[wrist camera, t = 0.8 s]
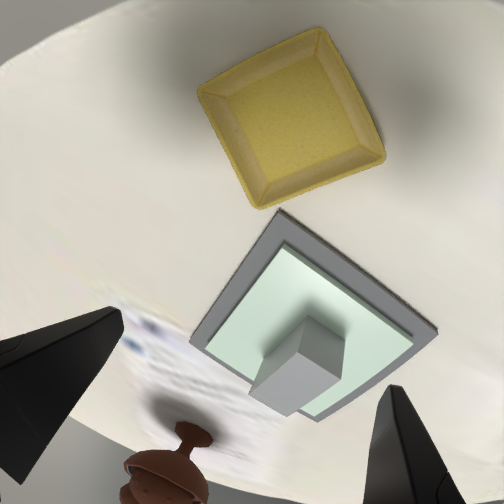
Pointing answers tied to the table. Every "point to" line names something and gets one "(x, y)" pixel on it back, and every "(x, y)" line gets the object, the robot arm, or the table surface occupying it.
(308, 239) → the mat
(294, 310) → the cover
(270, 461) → the table surface
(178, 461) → the ice cream bowl
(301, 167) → the saucer
